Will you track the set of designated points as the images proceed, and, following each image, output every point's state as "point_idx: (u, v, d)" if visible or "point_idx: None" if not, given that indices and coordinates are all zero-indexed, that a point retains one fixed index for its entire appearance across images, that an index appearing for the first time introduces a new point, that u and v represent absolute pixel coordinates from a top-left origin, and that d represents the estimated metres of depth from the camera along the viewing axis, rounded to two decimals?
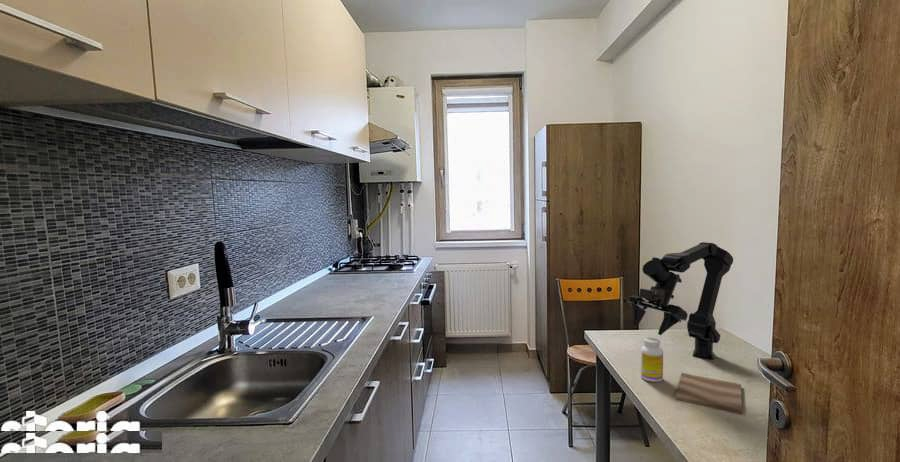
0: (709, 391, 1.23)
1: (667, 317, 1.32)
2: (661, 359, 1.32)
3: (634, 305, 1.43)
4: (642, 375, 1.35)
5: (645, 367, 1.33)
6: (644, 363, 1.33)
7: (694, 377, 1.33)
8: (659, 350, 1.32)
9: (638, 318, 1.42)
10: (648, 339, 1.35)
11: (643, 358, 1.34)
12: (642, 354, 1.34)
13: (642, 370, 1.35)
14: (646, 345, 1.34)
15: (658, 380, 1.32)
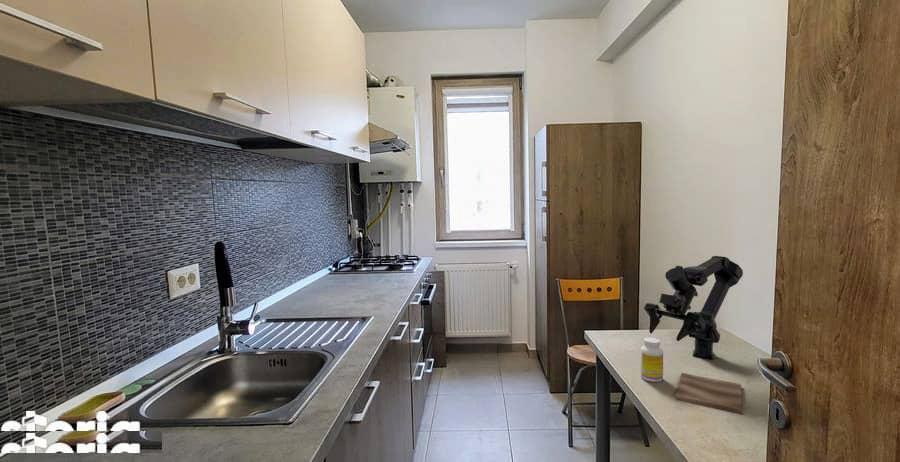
0: (709, 391, 1.23)
1: (687, 323, 1.33)
2: (661, 359, 1.32)
3: (651, 311, 1.43)
4: (642, 375, 1.35)
5: (645, 367, 1.33)
6: (644, 363, 1.33)
7: (694, 377, 1.33)
8: (659, 350, 1.32)
9: (654, 325, 1.43)
10: (648, 339, 1.35)
11: (643, 358, 1.34)
12: (642, 354, 1.34)
13: (642, 370, 1.35)
14: (646, 345, 1.34)
15: (658, 380, 1.32)
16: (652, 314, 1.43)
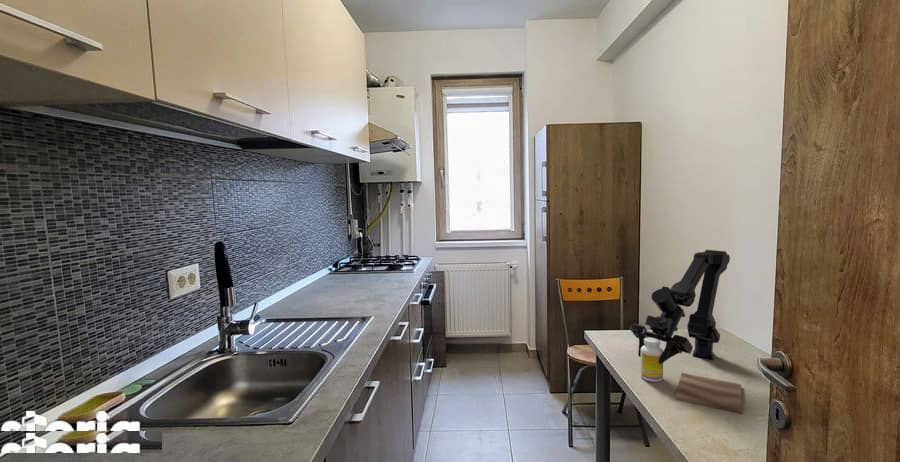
0: (709, 391, 1.23)
1: (669, 346, 1.31)
2: None
3: (640, 334, 1.39)
4: (642, 375, 1.35)
5: (645, 367, 1.33)
6: (644, 363, 1.33)
7: (694, 377, 1.33)
8: (659, 350, 1.32)
9: None
10: (648, 339, 1.35)
11: (643, 358, 1.34)
12: (642, 354, 1.34)
13: (642, 370, 1.35)
14: (646, 345, 1.34)
15: (658, 380, 1.32)
16: (641, 337, 1.39)
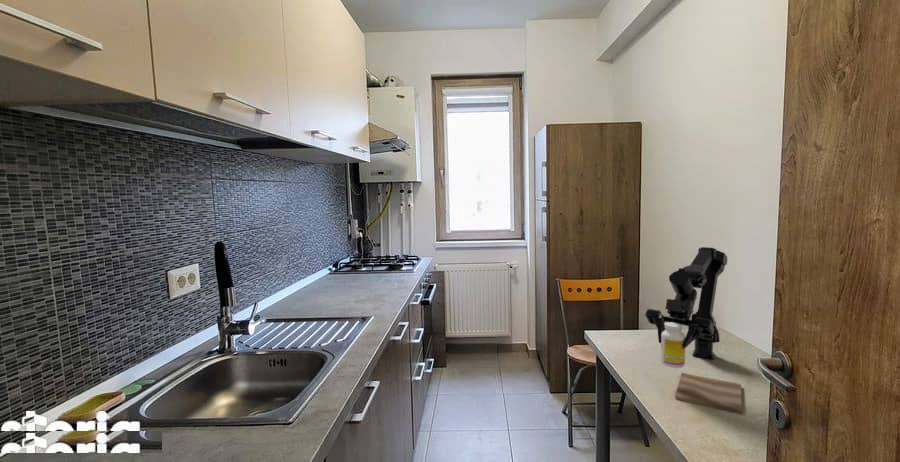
0: (709, 391, 1.23)
1: (693, 329, 1.26)
2: None
3: (658, 319, 1.33)
4: (664, 362, 1.29)
5: (668, 353, 1.27)
6: (667, 349, 1.27)
7: (694, 377, 1.33)
8: (682, 334, 1.27)
9: None
10: (669, 323, 1.30)
11: (666, 344, 1.28)
12: (664, 340, 1.28)
13: (664, 356, 1.29)
14: (668, 330, 1.28)
15: (681, 366, 1.27)
16: (659, 322, 1.33)
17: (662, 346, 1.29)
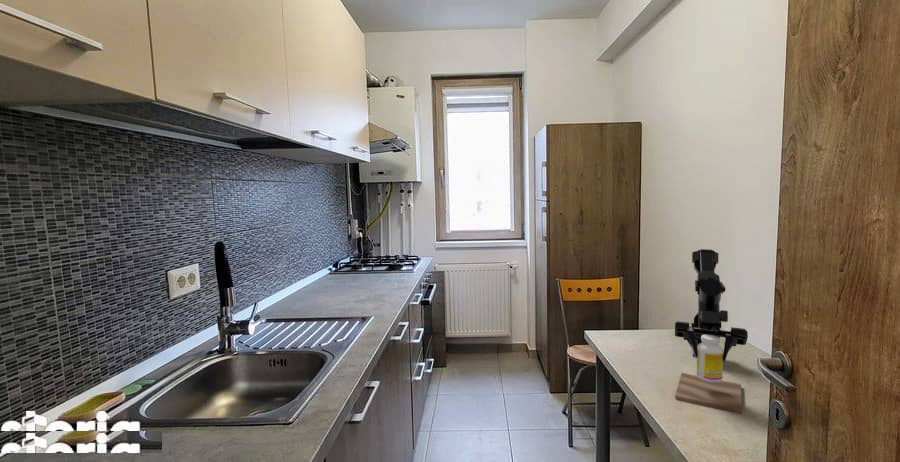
0: (709, 391, 1.23)
1: (730, 340, 1.22)
2: (722, 356, 1.22)
3: (691, 332, 1.27)
4: (704, 377, 1.22)
5: (709, 368, 1.21)
6: (709, 364, 1.21)
7: (694, 377, 1.33)
8: (720, 347, 1.22)
9: (696, 347, 1.26)
10: (706, 336, 1.24)
11: (706, 358, 1.22)
12: (704, 355, 1.22)
13: (704, 372, 1.22)
14: (708, 344, 1.22)
15: (721, 379, 1.22)
16: (692, 335, 1.27)
17: (701, 361, 1.23)
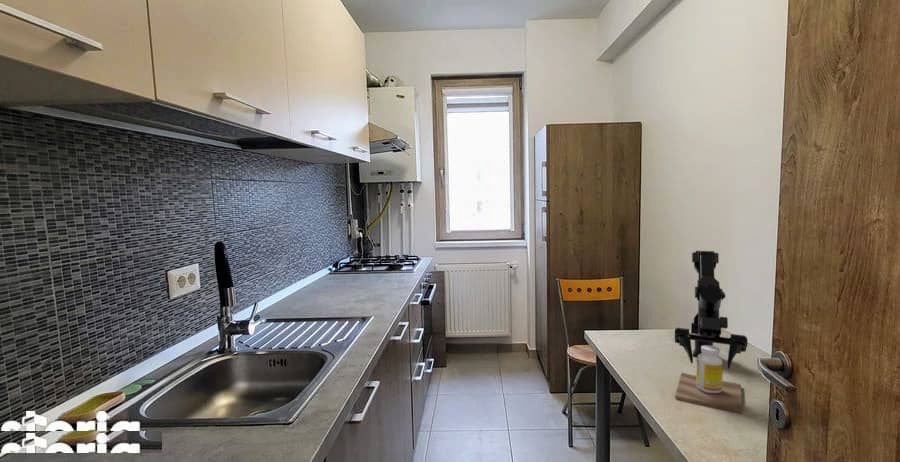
0: None
1: (735, 348, 1.21)
2: (722, 367, 1.23)
3: (687, 338, 1.27)
4: (704, 388, 1.23)
5: (709, 379, 1.22)
6: (708, 375, 1.22)
7: (694, 377, 1.33)
8: (720, 358, 1.23)
9: (691, 353, 1.27)
10: (705, 347, 1.24)
11: (706, 369, 1.22)
12: (704, 365, 1.22)
13: (704, 382, 1.22)
14: (708, 354, 1.22)
15: (721, 390, 1.22)
16: (688, 341, 1.27)
17: (701, 371, 1.23)
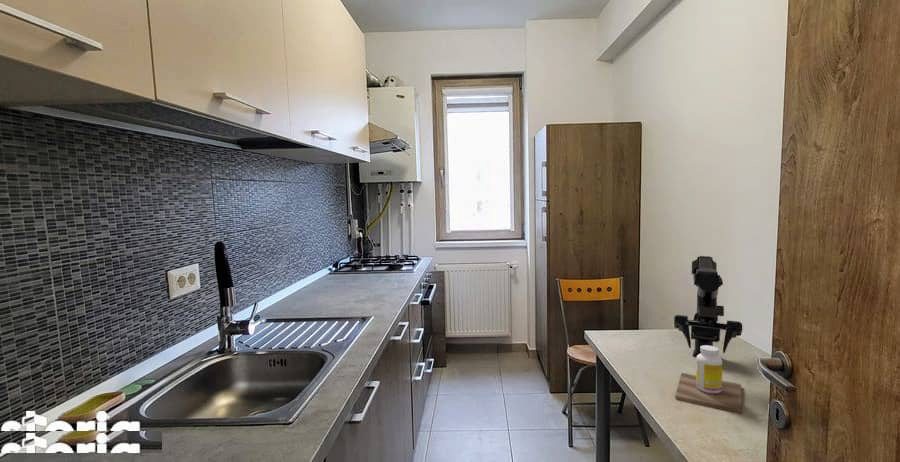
0: None
1: (730, 334, 1.30)
2: None
3: (685, 325, 1.36)
4: (704, 388, 1.23)
5: (709, 379, 1.22)
6: (708, 375, 1.22)
7: (694, 377, 1.33)
8: (719, 358, 1.23)
9: None
10: (705, 347, 1.24)
11: (706, 369, 1.22)
12: (703, 366, 1.22)
13: (704, 383, 1.22)
14: (707, 354, 1.22)
15: (721, 390, 1.22)
16: (687, 327, 1.36)
17: (700, 372, 1.23)
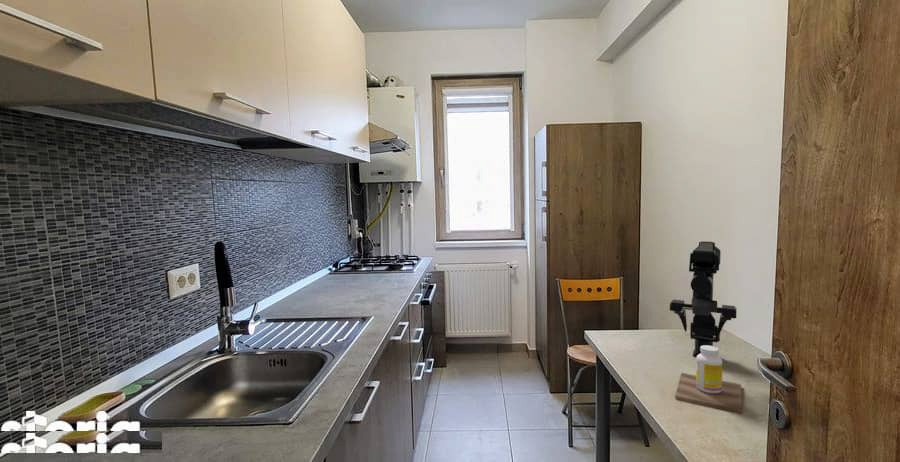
0: None
1: (724, 321, 1.33)
2: None
3: (680, 314, 1.39)
4: (704, 388, 1.23)
5: (709, 379, 1.22)
6: (708, 375, 1.22)
7: (694, 377, 1.33)
8: (719, 358, 1.23)
9: (685, 322, 1.41)
10: (705, 347, 1.24)
11: (706, 369, 1.22)
12: (704, 366, 1.22)
13: (704, 383, 1.22)
14: (707, 354, 1.22)
15: (721, 390, 1.22)
16: (682, 315, 1.39)
17: (700, 372, 1.23)
